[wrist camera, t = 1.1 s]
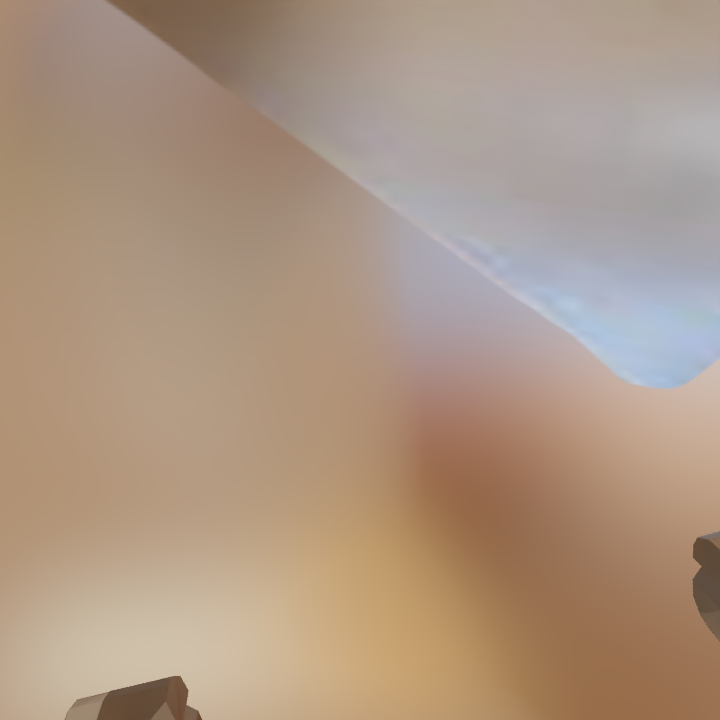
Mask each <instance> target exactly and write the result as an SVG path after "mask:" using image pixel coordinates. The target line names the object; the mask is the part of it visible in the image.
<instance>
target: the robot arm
mask: <svg viewBox="0 0 720 720" xmlns="http://www.w3.org/2000/svg"><path fill="white" fill-rule="evenodd" d="M693 558H694V559H695V560H696V561H697V562H698V563H699V564H700V565H701V566H702V567H701V568H700V570H699V571H698V573H697V574H696V575H695V577H694V578H693V596H694V599H695V602H696V605H697V607H698V610H699V613H700V615H701V617H702V618H703V620H704V621H705V623H706V625H707V626H708V628H709V629H710V630H711V631H712V633H713V634H714V635H715V636H716V638H717V639H718V640H719V641H720V531H719V532H715V533H712V534H708V535H704V536H701V537H698V538H697V539H696V541H695V543H694V545H693ZM187 697H188V689H187V687H186V685H185V684H184V682H183V680H182V678H181V677H180V676H173V677H168V678H164V679H160V680H156V681H151V682H147V683H143V684H139V685H135V686H130V687H126V688H121V689H117V690H113V691H110V692H107V693H103V694H99V695H95V696H90V697H86V698H82V699H78V700H77V701H76V702H75V703H74V704H73V705H72V707H71V708H70V709H69V711H68V713H67V715H66V718H65V720H202V718H201V716H200V714H199V712H198V711H197V710H195V709H193V708H191V707H189V706H187V705H186V703H187Z"/></svg>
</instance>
